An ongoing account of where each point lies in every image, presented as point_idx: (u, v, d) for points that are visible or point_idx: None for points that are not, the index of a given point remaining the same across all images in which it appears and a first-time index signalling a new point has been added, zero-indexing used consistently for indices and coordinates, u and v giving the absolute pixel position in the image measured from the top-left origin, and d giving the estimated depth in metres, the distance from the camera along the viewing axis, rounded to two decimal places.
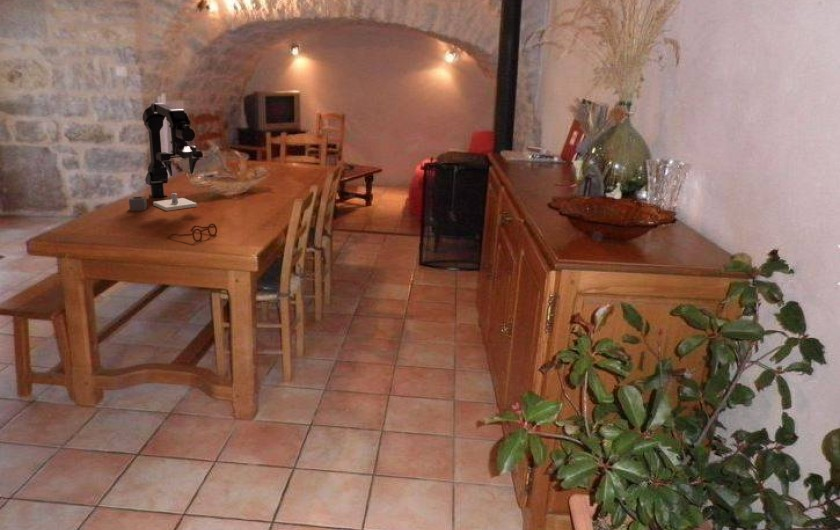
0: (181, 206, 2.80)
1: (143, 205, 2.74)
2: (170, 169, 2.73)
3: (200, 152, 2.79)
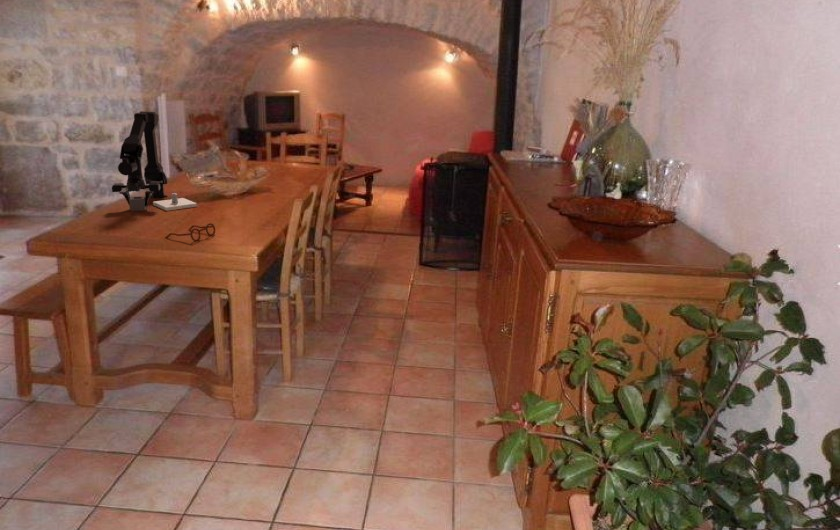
0: (181, 206, 2.80)
1: (143, 205, 2.74)
2: (128, 200, 2.74)
3: (155, 186, 2.73)
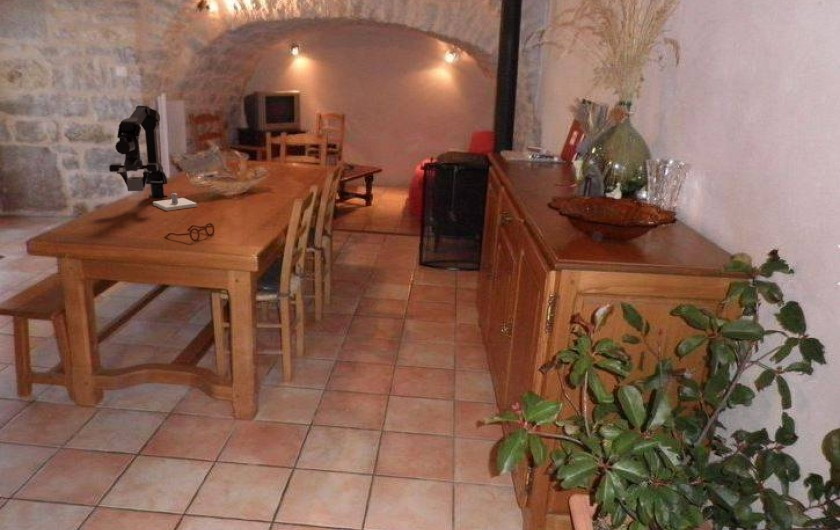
0: (181, 206, 2.80)
1: (141, 185, 2.71)
2: (125, 180, 2.71)
3: (153, 166, 2.70)
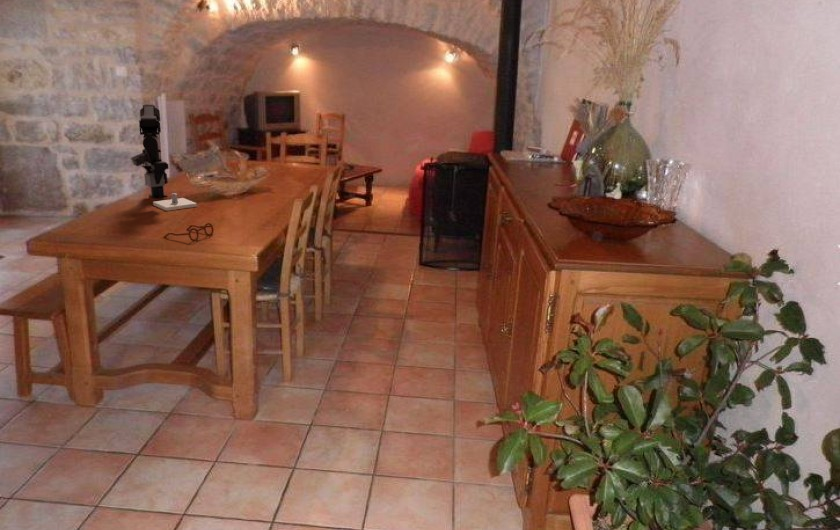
0: (181, 206, 2.80)
1: (150, 181, 2.74)
2: None
3: (154, 164, 2.67)
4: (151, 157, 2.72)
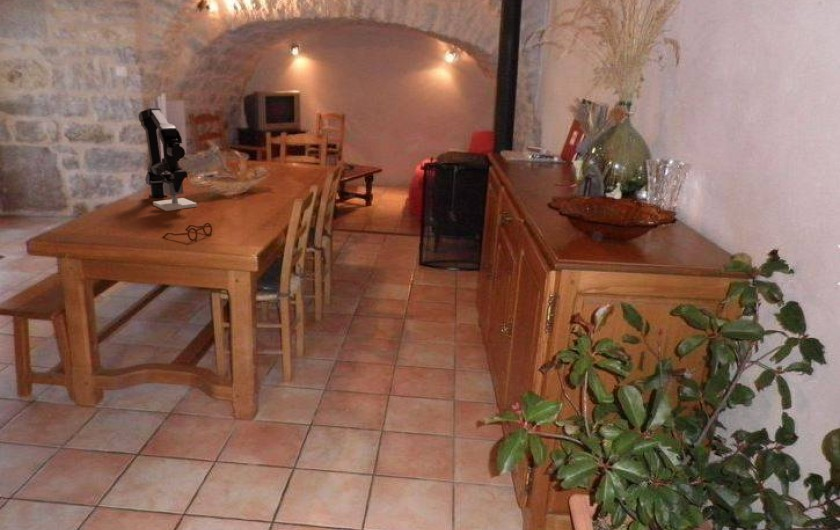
0: (181, 206, 2.80)
1: (169, 190, 2.79)
2: None
3: (174, 173, 2.73)
4: (170, 166, 2.77)
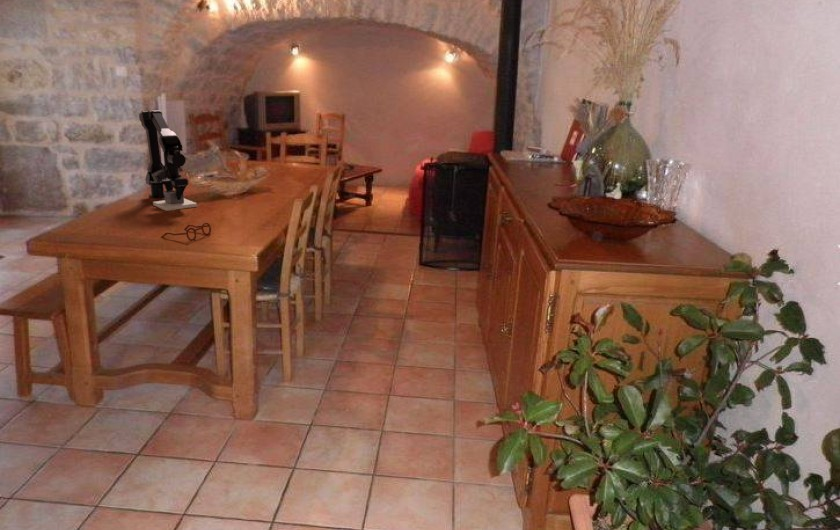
0: (181, 206, 2.80)
1: (170, 199, 2.80)
2: (166, 189, 2.86)
3: (174, 180, 2.74)
4: (171, 173, 2.78)
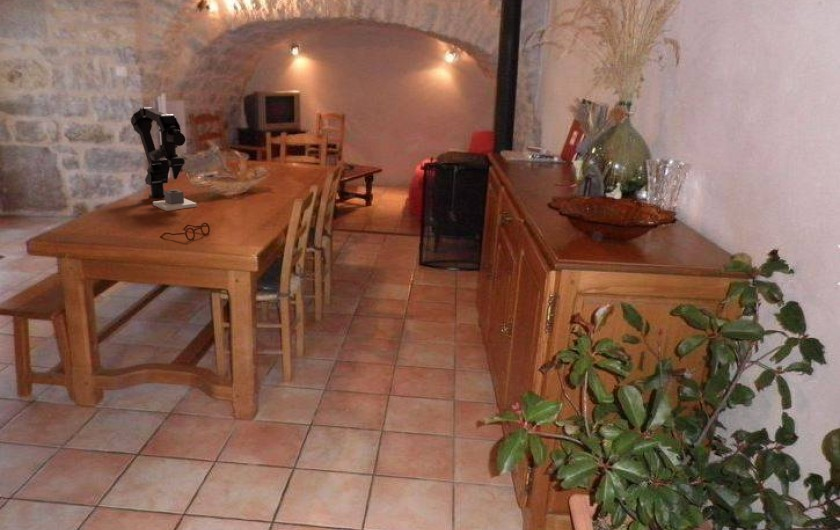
0: (181, 206, 2.80)
1: (170, 199, 2.80)
2: (163, 168, 2.91)
3: (171, 159, 2.79)
4: (168, 152, 2.83)
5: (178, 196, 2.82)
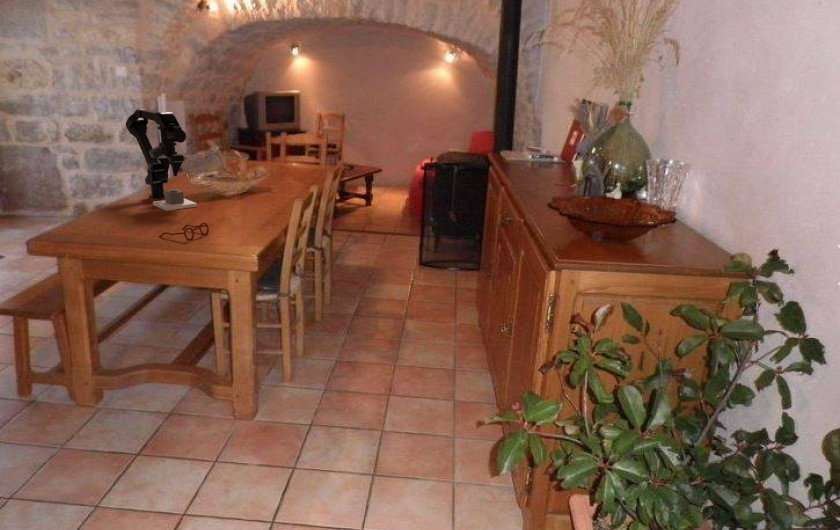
0: (181, 206, 2.80)
1: (170, 199, 2.80)
2: (163, 166, 2.93)
3: (171, 156, 2.81)
4: (167, 150, 2.85)
5: (178, 196, 2.82)
